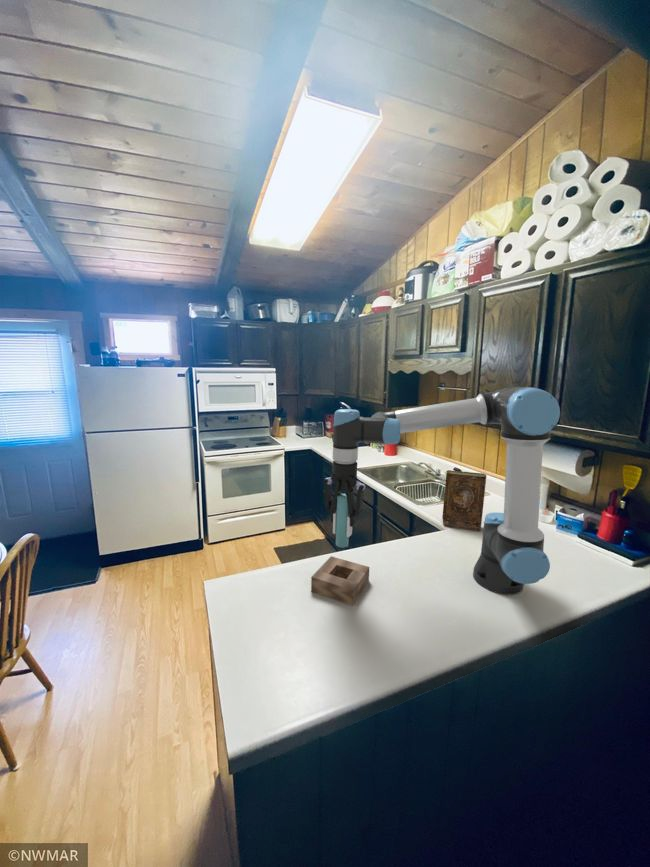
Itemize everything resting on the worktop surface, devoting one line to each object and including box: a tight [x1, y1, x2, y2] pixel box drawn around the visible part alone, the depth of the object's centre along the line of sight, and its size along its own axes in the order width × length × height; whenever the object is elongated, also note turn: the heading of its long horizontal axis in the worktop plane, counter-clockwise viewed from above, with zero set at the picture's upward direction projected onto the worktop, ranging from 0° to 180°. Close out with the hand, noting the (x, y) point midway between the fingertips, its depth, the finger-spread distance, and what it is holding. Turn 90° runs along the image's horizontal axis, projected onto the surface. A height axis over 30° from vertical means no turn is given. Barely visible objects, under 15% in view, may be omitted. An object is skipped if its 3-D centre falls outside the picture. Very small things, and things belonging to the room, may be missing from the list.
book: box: [441, 470, 487, 532], centre depth 155 cm, size 16×6×25 cm, turn 73°
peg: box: [335, 493, 350, 549], centre depth 107 cm, size 4×4×16 cm
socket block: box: [310, 556, 370, 606], centre depth 110 cm, size 14×14×5 cm
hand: (342, 533), depth 107 cm, fingers closed on peg, 4 cm apart
